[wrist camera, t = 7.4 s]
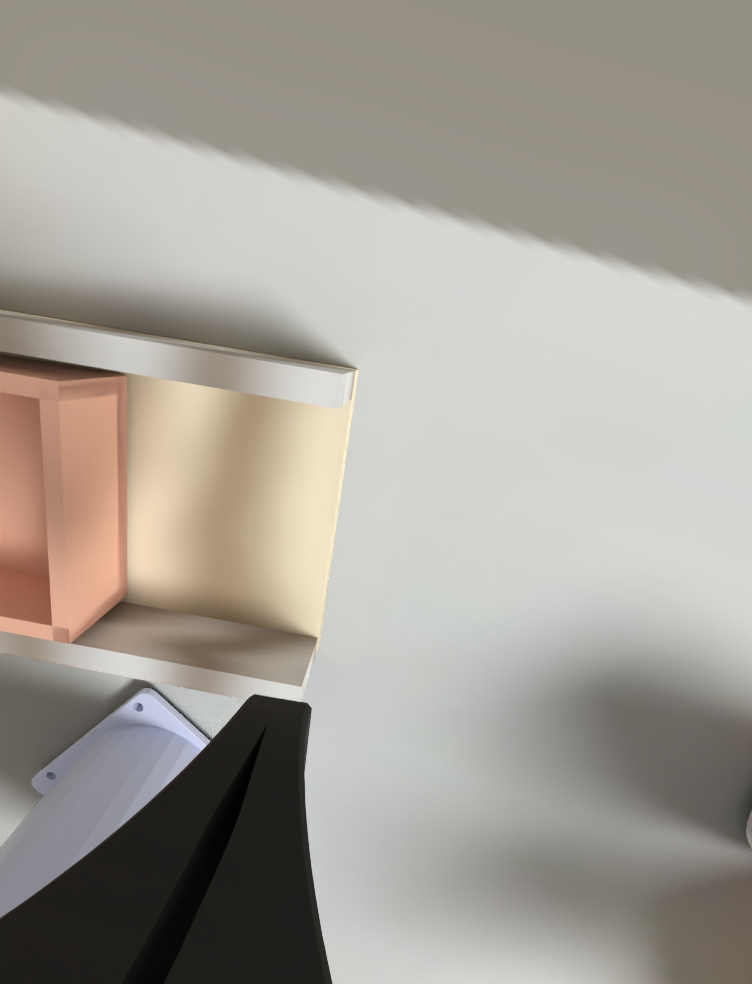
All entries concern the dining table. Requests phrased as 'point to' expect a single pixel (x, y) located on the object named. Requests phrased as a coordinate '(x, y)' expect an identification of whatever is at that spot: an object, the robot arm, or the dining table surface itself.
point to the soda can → (749, 830)
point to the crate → (61, 497)
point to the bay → (210, 508)
